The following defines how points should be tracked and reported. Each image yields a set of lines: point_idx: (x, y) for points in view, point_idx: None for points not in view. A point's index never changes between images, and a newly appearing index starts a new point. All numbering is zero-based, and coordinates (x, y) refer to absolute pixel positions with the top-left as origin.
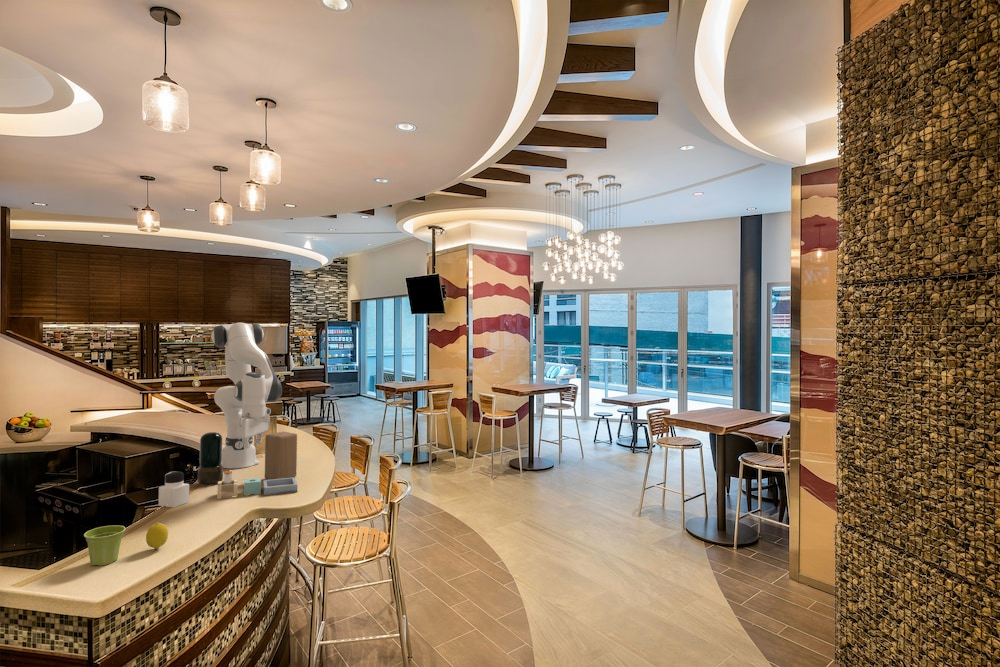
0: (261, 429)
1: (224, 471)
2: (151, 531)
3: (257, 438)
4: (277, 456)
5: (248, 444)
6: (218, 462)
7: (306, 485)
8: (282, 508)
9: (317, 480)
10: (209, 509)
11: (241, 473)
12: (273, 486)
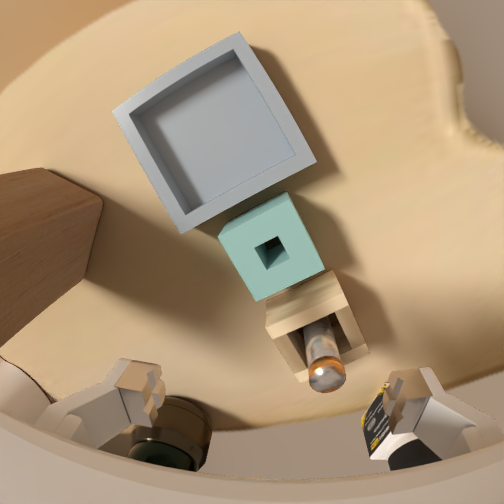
0: (92, 500)
1: (338, 386)
2: None
3: (122, 423)
4: (33, 240)
5: (435, 390)
6: (161, 453)
7: (142, 54)
8: (449, 41)
9: (75, 56)
10: (461, 286)
11: (66, 370)
12: (284, 129)
